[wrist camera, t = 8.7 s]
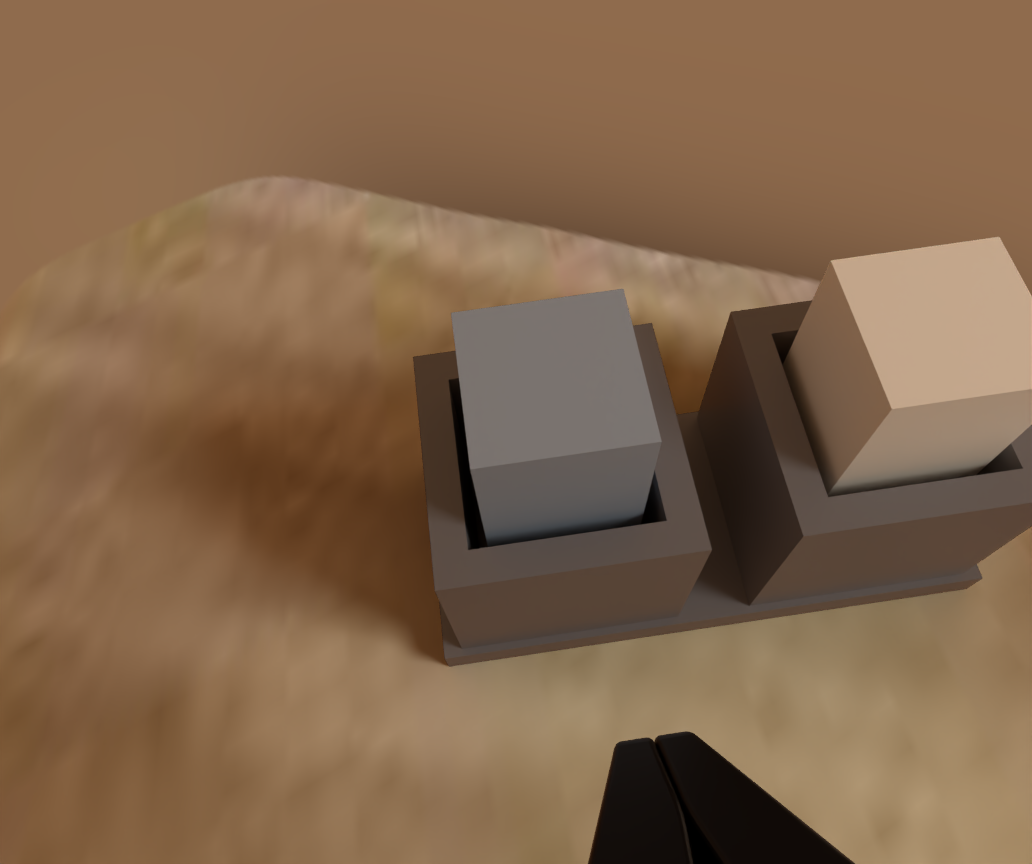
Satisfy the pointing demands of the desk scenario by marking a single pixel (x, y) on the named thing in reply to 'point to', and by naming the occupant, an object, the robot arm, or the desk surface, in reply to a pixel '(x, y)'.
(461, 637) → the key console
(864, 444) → the beige block
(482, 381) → the slate key
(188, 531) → the desk surface
